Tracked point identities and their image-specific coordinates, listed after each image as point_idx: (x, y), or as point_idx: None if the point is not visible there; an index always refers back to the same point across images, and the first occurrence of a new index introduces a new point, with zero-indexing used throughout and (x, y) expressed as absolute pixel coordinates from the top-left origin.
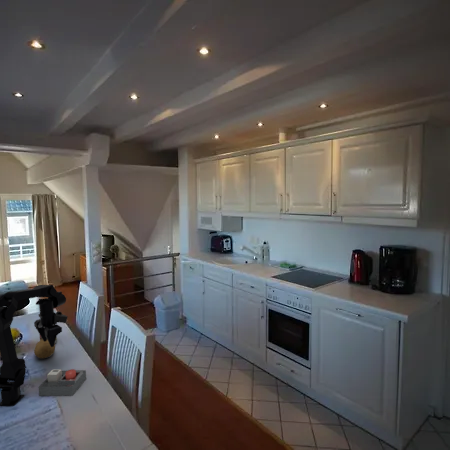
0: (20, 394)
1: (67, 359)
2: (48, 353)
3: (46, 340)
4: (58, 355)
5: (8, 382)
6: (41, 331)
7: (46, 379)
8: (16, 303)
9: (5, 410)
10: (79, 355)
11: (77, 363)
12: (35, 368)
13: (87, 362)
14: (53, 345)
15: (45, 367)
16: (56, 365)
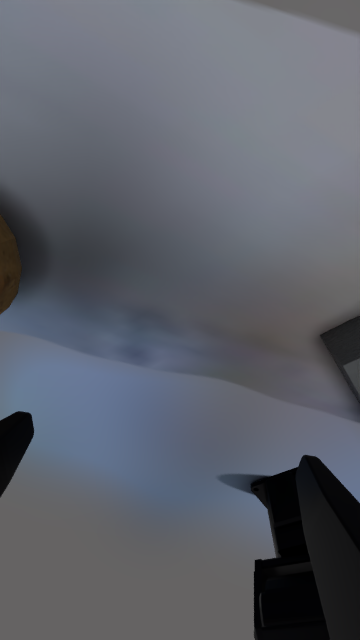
0: (293, 472)
1: (132, 152)
2: (16, 263)
3: (26, 420)
4: (8, 165)
5: (287, 571)
6: None
7: None
8: None
9: None
10: (146, 26)
11: (271, 132)
12: (89, 338)
13: (346, 53)
14: (327, 475)
15: (124, 303)
16: (156, 251)
